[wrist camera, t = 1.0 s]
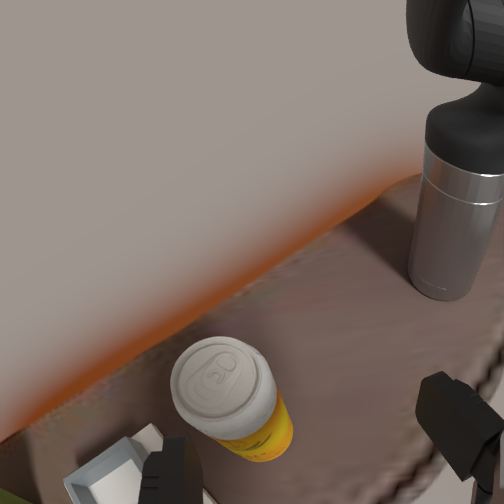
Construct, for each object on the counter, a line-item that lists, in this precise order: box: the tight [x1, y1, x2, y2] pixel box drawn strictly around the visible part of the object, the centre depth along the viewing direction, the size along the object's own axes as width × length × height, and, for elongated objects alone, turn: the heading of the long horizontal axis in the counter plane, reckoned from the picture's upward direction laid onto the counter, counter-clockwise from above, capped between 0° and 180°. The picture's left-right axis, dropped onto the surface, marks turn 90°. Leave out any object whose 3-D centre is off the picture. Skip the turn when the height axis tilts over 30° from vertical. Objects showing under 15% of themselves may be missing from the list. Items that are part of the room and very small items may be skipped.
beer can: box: [170, 336, 293, 462], centre depth 22 cm, size 6×6×15 cm
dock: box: [63, 423, 217, 504], centre depth 22 cm, size 14×12×4 cm
